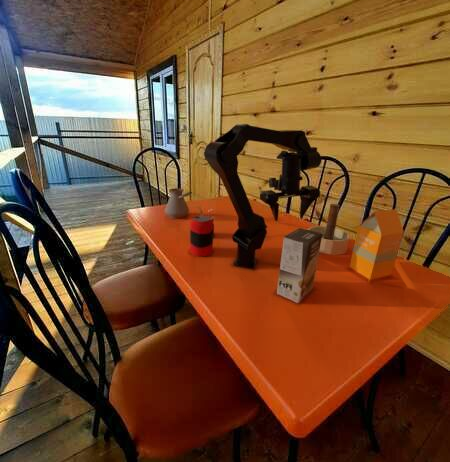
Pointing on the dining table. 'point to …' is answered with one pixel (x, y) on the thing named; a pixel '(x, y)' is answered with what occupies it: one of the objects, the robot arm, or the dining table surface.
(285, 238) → the coffee box
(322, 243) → the bowl
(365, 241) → the orange juice
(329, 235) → the brown rectangular block
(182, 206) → the coffee pot
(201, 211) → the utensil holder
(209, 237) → the soda can
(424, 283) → the dining table surface
